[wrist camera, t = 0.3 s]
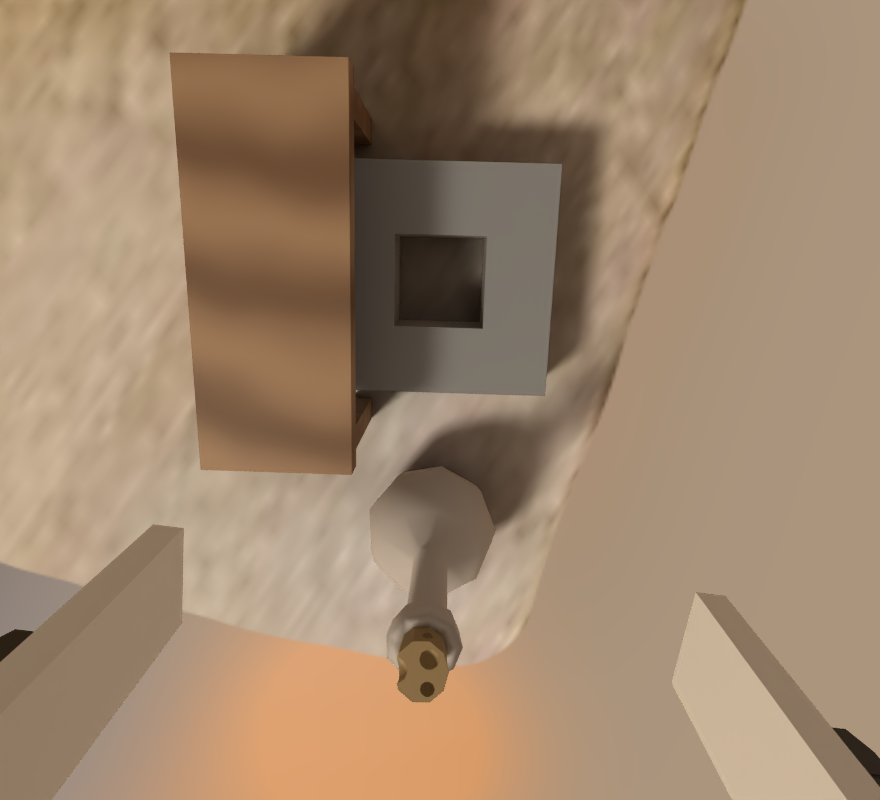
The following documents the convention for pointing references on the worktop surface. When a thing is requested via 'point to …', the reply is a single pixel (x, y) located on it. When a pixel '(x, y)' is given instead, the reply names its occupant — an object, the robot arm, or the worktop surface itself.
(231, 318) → the wooden bench
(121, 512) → the worktop surface
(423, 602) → the potion bottle
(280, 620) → the worktop surface
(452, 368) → the socket block
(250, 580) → the worktop surface
